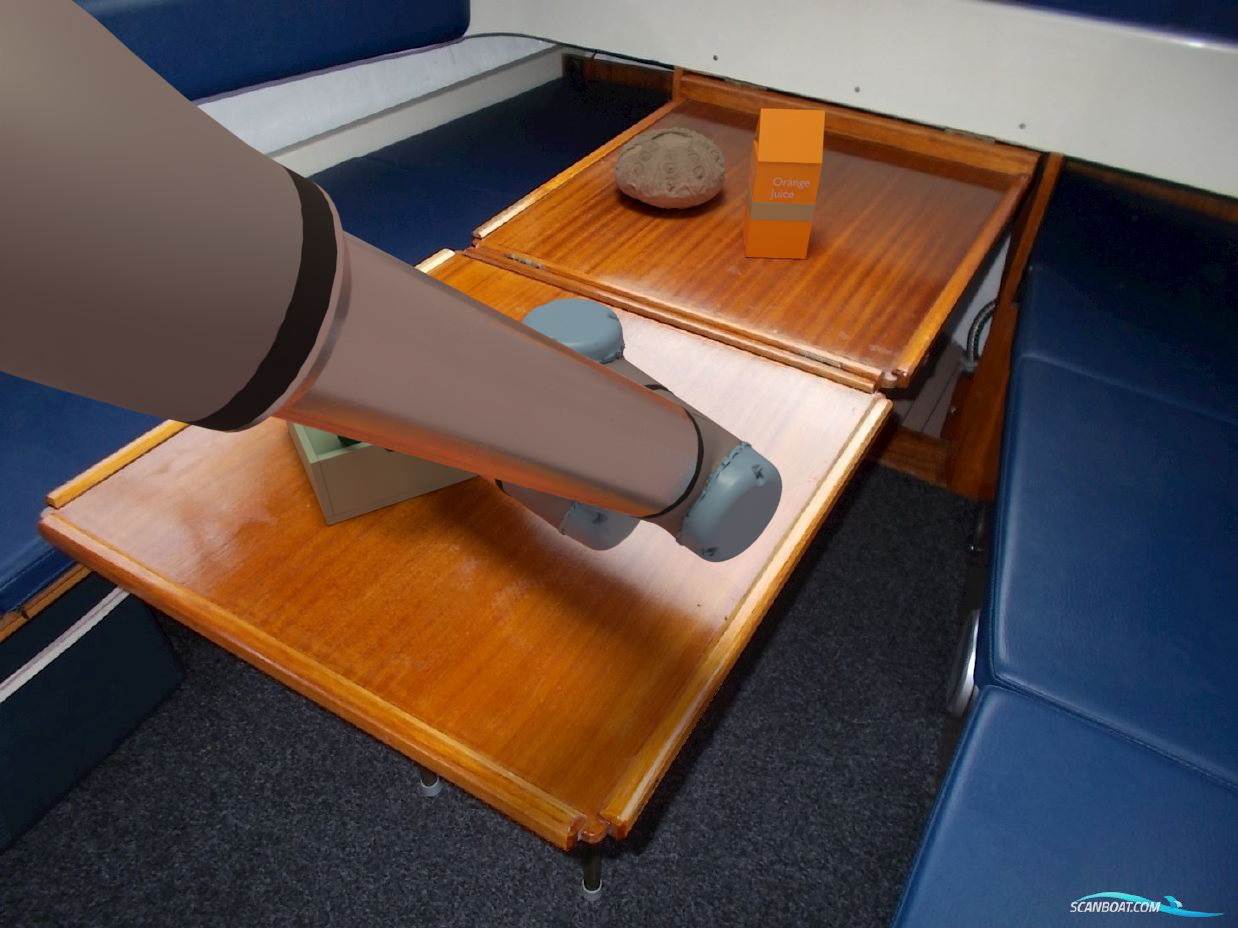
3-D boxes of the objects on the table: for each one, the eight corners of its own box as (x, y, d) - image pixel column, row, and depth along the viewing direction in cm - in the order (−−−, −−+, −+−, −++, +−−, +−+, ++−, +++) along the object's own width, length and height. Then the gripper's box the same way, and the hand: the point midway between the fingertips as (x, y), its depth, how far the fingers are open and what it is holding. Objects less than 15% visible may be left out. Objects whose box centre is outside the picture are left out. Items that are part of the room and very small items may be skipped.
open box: (328, 526, 83) (309, 463, 78) (288, 430, 94) (270, 369, 88) (488, 472, 89) (481, 411, 84) (434, 388, 100) (424, 329, 95)
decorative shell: (654, 231, 131) (657, 167, 125) (592, 190, 142) (592, 129, 136) (744, 205, 139) (752, 143, 132) (679, 168, 150) (683, 109, 143)
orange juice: (741, 234, 131) (757, 98, 118) (799, 236, 131) (822, 100, 118) (745, 258, 125) (762, 118, 112) (806, 260, 125) (830, 121, 112)
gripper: (397, 530, 71) (248, 417, 82) (578, 410, 83) (429, 326, 94) (382, 461, 66) (226, 350, 77) (577, 345, 78) (419, 264, 89)
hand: (338, 337), depth 86 cm, fingers closed on soya milk, 9 cm apart
